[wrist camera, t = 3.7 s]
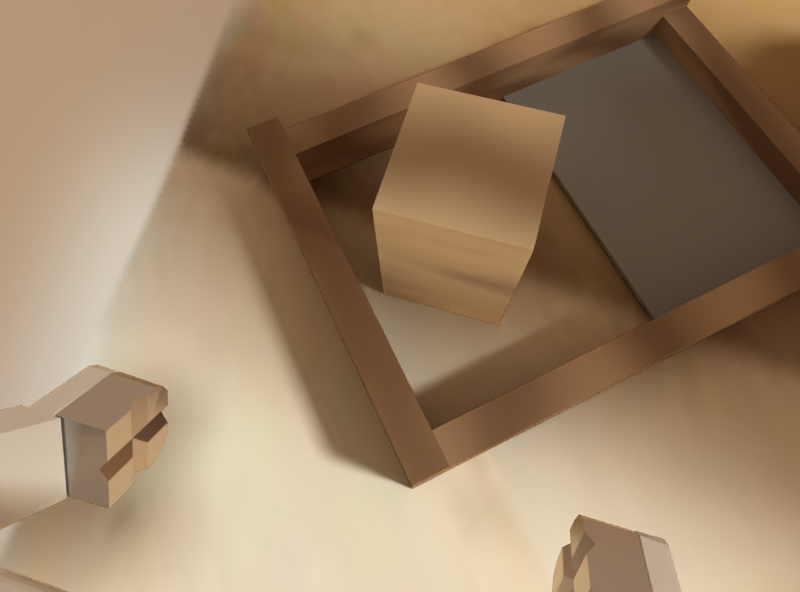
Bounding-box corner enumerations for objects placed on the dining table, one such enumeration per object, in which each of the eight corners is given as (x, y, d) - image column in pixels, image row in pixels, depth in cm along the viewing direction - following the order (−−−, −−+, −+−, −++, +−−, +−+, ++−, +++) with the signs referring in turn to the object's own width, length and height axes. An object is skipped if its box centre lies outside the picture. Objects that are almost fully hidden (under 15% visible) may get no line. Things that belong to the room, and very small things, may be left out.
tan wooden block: (416, 195, 28) (417, 82, 21) (524, 222, 28) (565, 115, 20) (383, 294, 26) (372, 208, 19) (498, 325, 26) (533, 250, 18)
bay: (658, 10, 32) (686, -46, 29) (870, 254, 27) (934, 217, 23) (265, 172, 29) (246, 129, 26) (412, 488, 23) (412, 485, 20)
